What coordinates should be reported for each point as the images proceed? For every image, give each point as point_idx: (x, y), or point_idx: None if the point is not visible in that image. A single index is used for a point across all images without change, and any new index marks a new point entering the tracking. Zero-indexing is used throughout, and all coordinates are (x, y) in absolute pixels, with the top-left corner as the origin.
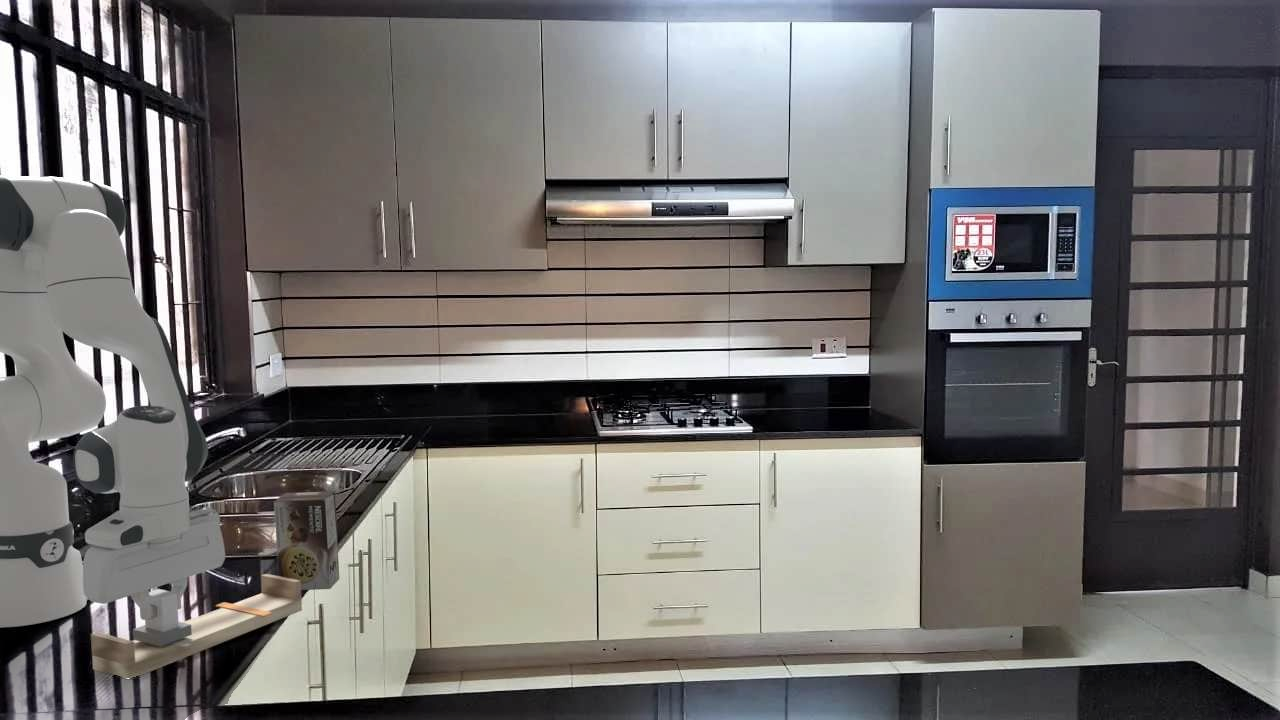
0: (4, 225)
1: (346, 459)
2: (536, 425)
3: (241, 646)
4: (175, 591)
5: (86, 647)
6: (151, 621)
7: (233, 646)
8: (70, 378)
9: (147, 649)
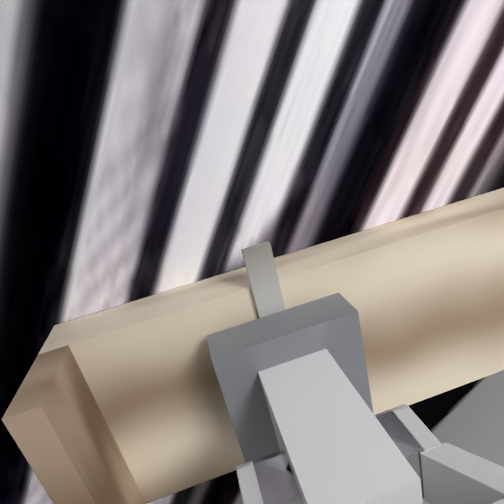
0: None
1: None
2: None
3: (424, 420)
4: (460, 497)
5: (85, 48)
6: (276, 430)
7: (414, 409)
8: None
9: (216, 418)
